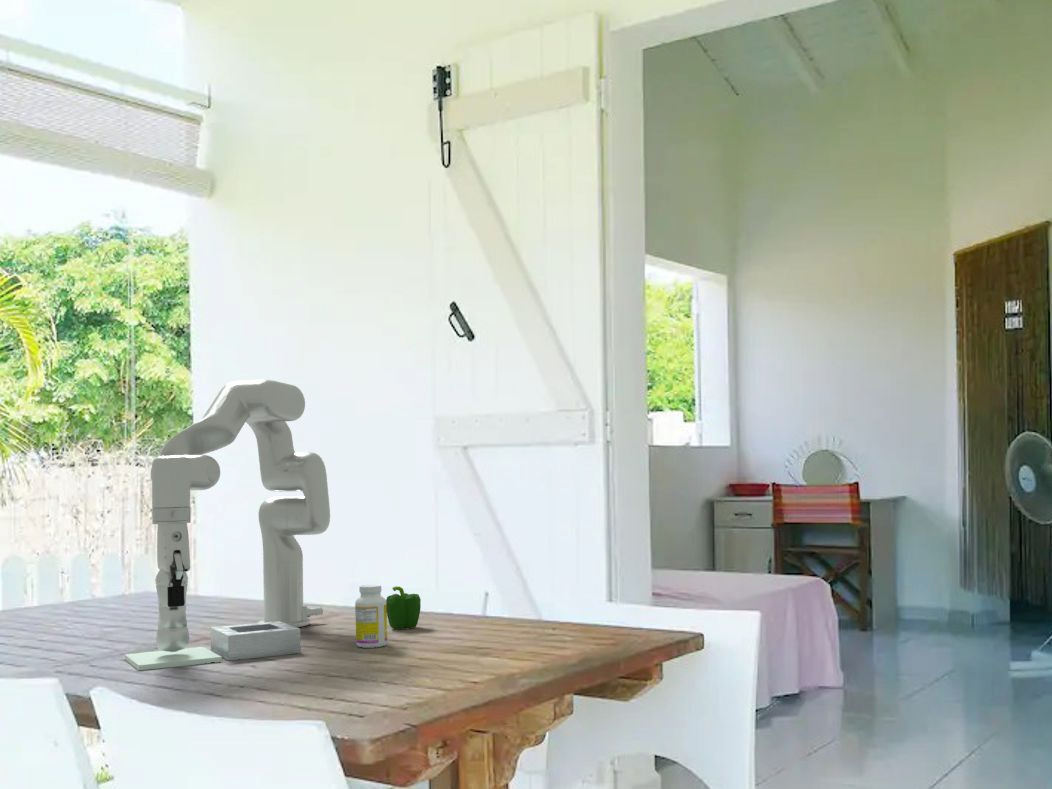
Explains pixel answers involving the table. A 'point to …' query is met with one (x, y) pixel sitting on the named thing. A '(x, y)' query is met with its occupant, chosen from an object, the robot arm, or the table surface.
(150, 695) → the table surface
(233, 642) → the bore block
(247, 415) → the robot arm
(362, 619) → the supplement bottle
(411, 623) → the bell pepper
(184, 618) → the plastic bottle
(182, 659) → the pad
